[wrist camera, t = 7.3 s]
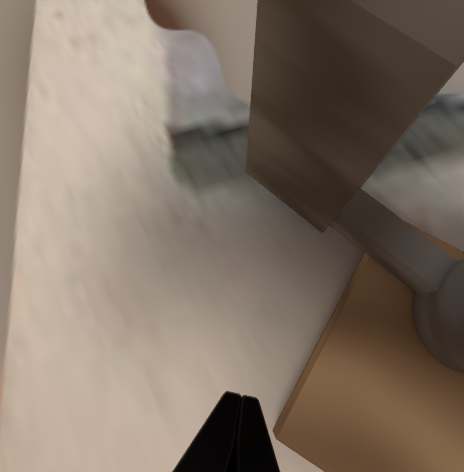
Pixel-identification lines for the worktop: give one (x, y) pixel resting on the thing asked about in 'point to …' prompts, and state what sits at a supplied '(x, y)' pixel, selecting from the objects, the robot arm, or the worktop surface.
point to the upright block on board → (357, 130)
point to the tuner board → (376, 386)
